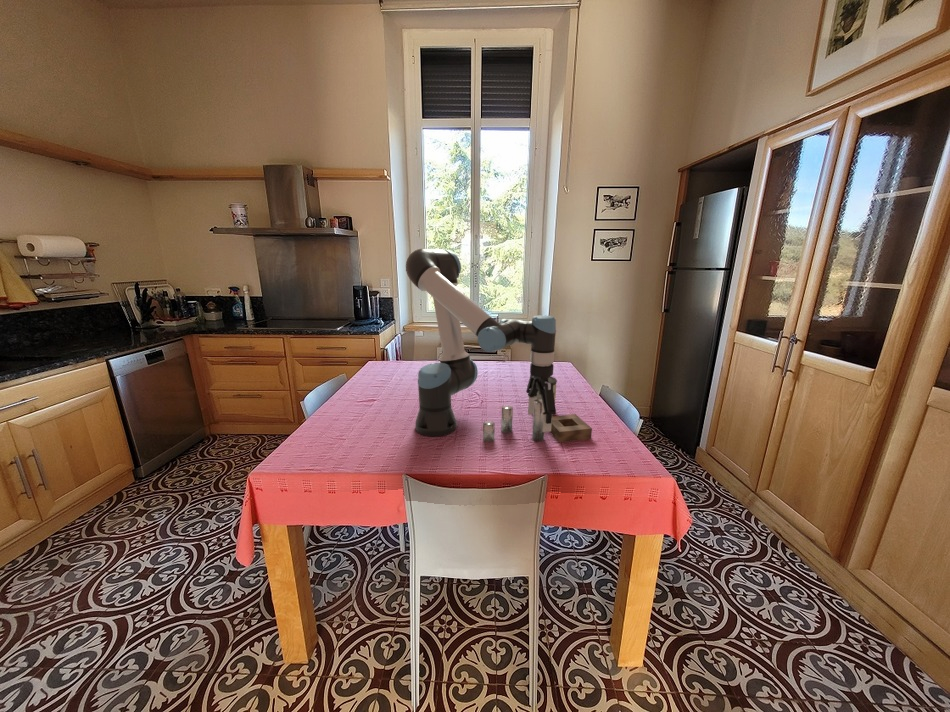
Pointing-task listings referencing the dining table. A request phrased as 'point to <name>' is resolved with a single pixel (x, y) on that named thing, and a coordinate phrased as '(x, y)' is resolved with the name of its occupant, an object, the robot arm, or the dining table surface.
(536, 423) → the long pin
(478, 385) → the dining table surface
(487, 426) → the short pin
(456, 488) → the dining table surface
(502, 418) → the medium pin
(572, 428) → the hole block
